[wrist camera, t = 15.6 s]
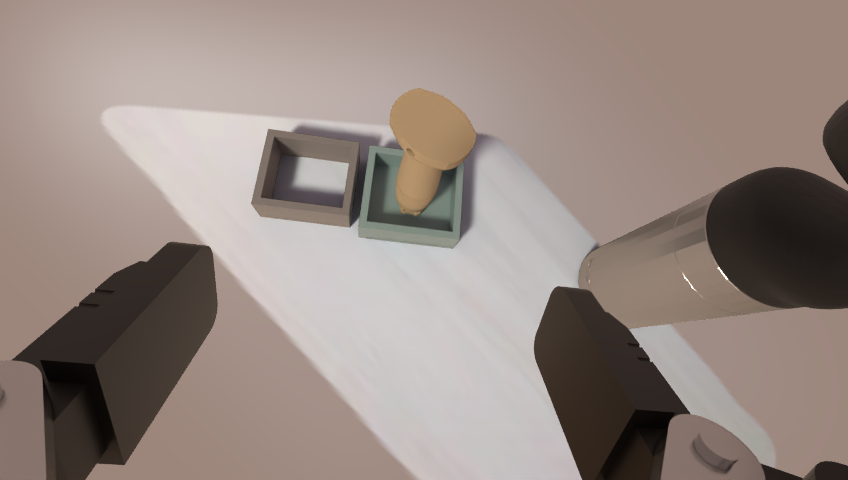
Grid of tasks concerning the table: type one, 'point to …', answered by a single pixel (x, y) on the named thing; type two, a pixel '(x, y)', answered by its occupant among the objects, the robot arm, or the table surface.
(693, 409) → the table surface
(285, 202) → the open rectangular frame
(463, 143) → the handle
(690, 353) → the table surface
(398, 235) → the parts tray
